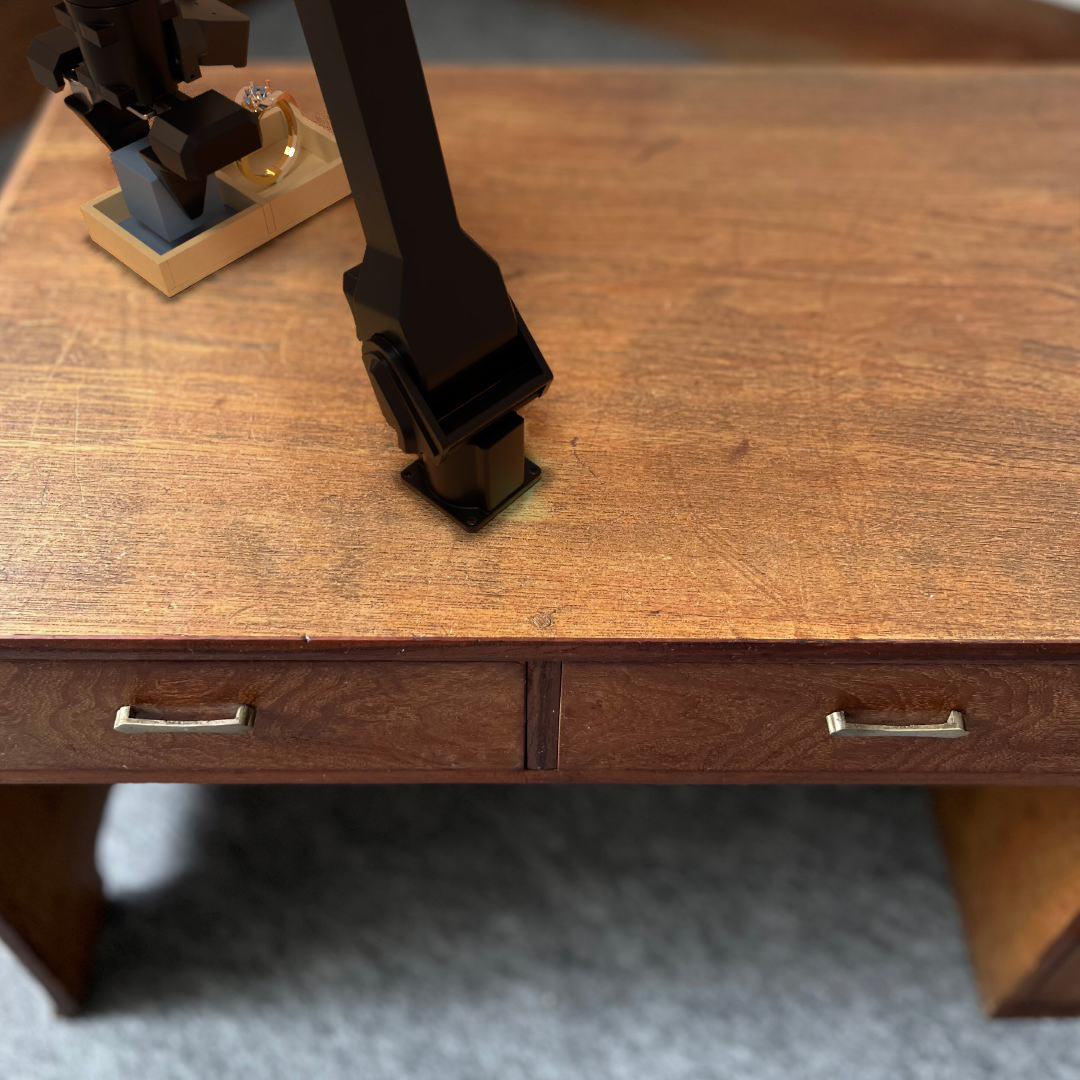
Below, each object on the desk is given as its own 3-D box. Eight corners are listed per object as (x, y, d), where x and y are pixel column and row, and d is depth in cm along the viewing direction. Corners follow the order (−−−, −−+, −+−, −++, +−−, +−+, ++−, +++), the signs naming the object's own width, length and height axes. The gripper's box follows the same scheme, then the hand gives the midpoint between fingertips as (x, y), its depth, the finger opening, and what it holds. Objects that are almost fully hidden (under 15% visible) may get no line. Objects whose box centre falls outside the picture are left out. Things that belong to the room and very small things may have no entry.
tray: (288, 136, 90) (281, 103, 87) (367, 184, 86) (362, 150, 83) (91, 239, 81) (78, 205, 79) (169, 298, 77) (158, 264, 75)
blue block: (225, 212, 80) (209, 152, 76) (169, 242, 77) (150, 182, 74) (185, 185, 82) (167, 125, 78) (129, 214, 80) (108, 153, 76)
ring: (258, 208, 83) (236, 113, 77) (229, 193, 84) (205, 98, 78) (321, 167, 86) (305, 73, 80) (293, 153, 87) (274, 59, 81)
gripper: (306, -10, 66) (341, 206, 79) (130, -98, 74) (187, 111, 86) (156, 58, 61) (218, 277, 74) (-16, -45, 69) (67, 169, 81)
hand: (174, 202), depth 79 cm, fingers closed on blue block, 5 cm apart
